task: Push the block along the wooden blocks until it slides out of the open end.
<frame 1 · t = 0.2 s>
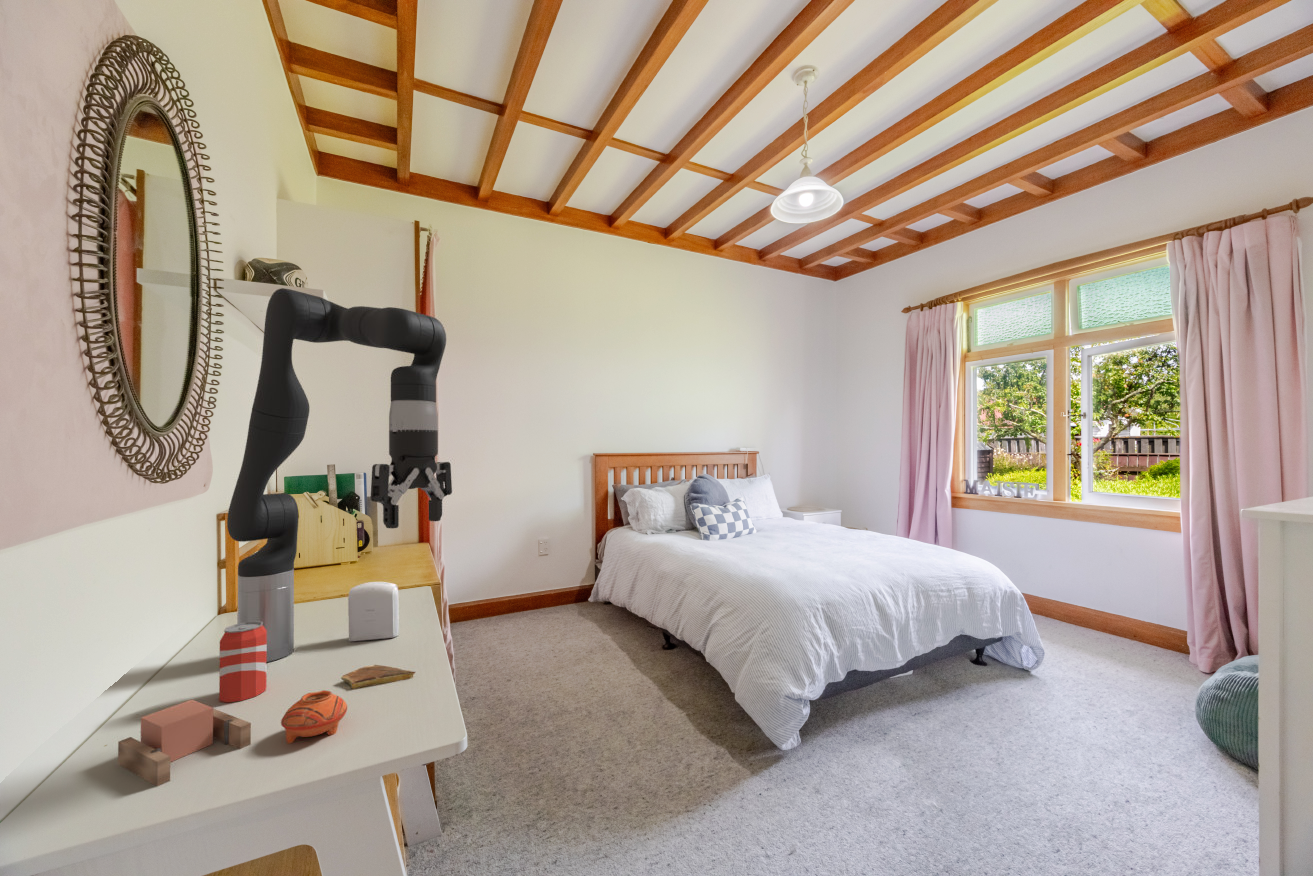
hand: (414, 524, 86), 29 cm above the table, fingers open, 8 cm apart
pot: (315, 738, 74), on the table
photo printer: (374, 638, 115), on the table
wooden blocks: (191, 760, 69), on the table
shard: (379, 679, 94), on the table
block: (177, 730, 70), point 3 cm above the table, slide at 0.0 cm
beverage can: (243, 698, 87), on the table
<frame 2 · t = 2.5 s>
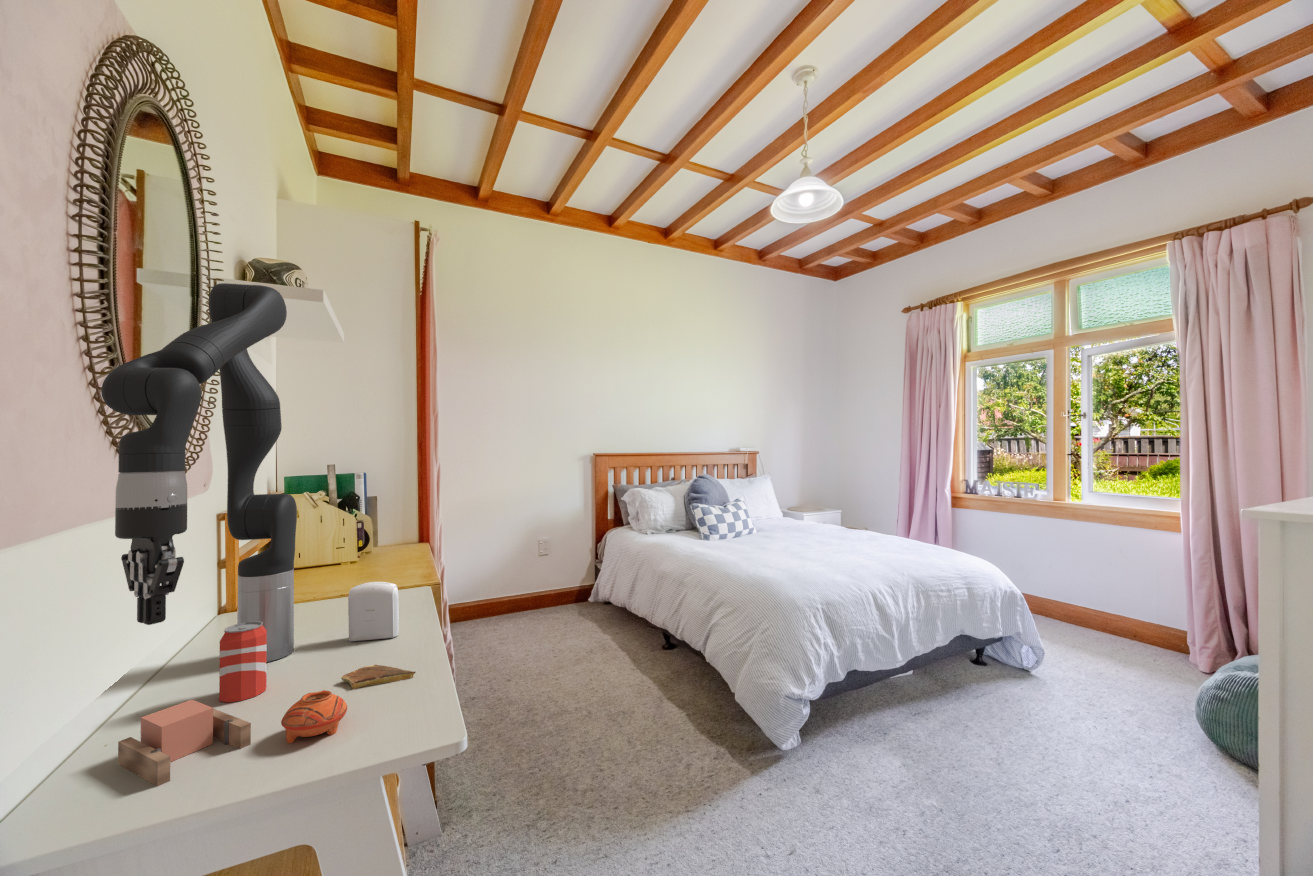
hand: (151, 621, 74), 17 cm above the table, fingers closed
nothing on the table moved.
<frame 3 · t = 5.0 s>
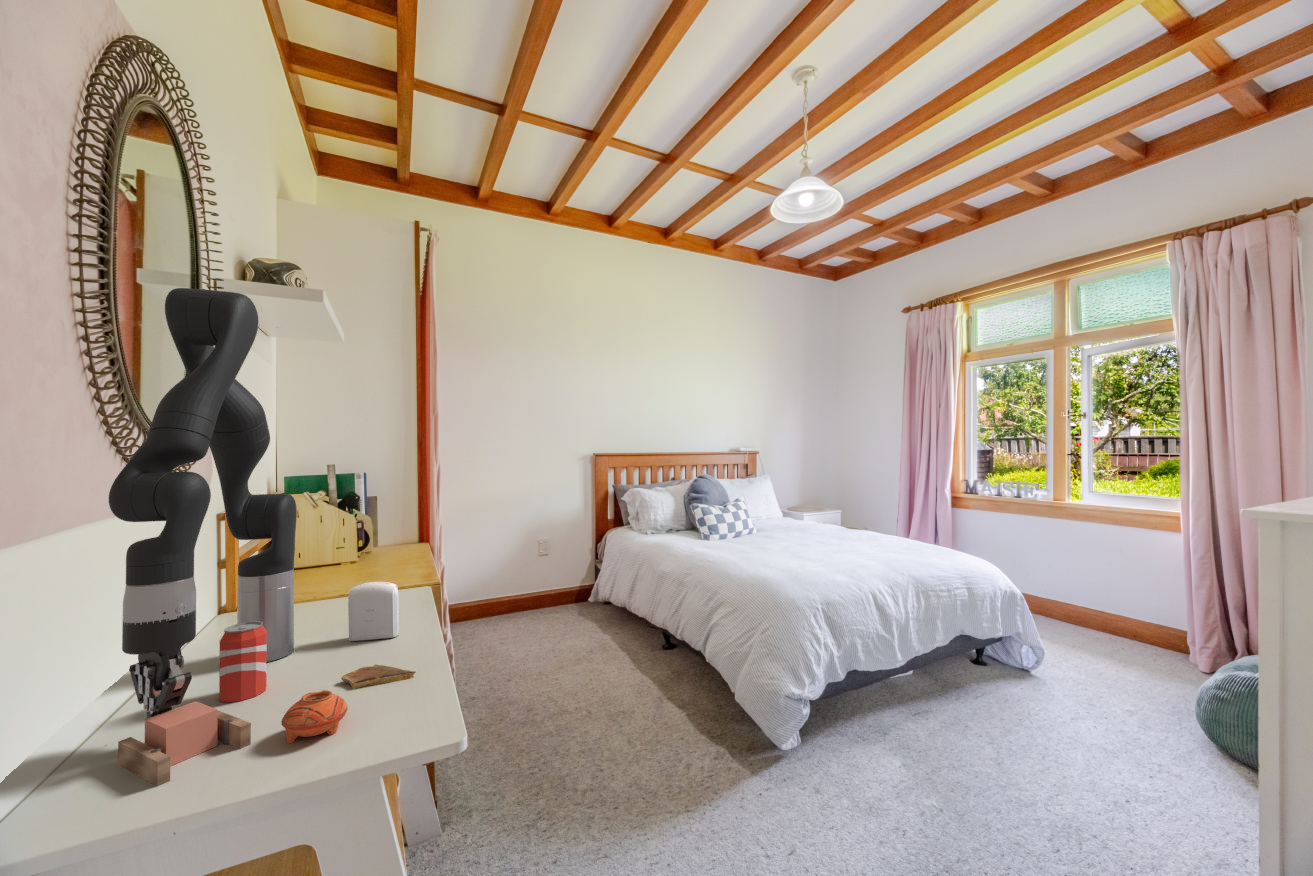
hand: (159, 735, 72), 2 cm above the table, fingers closed
block: (181, 732, 70), point 3 cm above the table, slide at 1.2 cm, touching gripper
everything else where it was.
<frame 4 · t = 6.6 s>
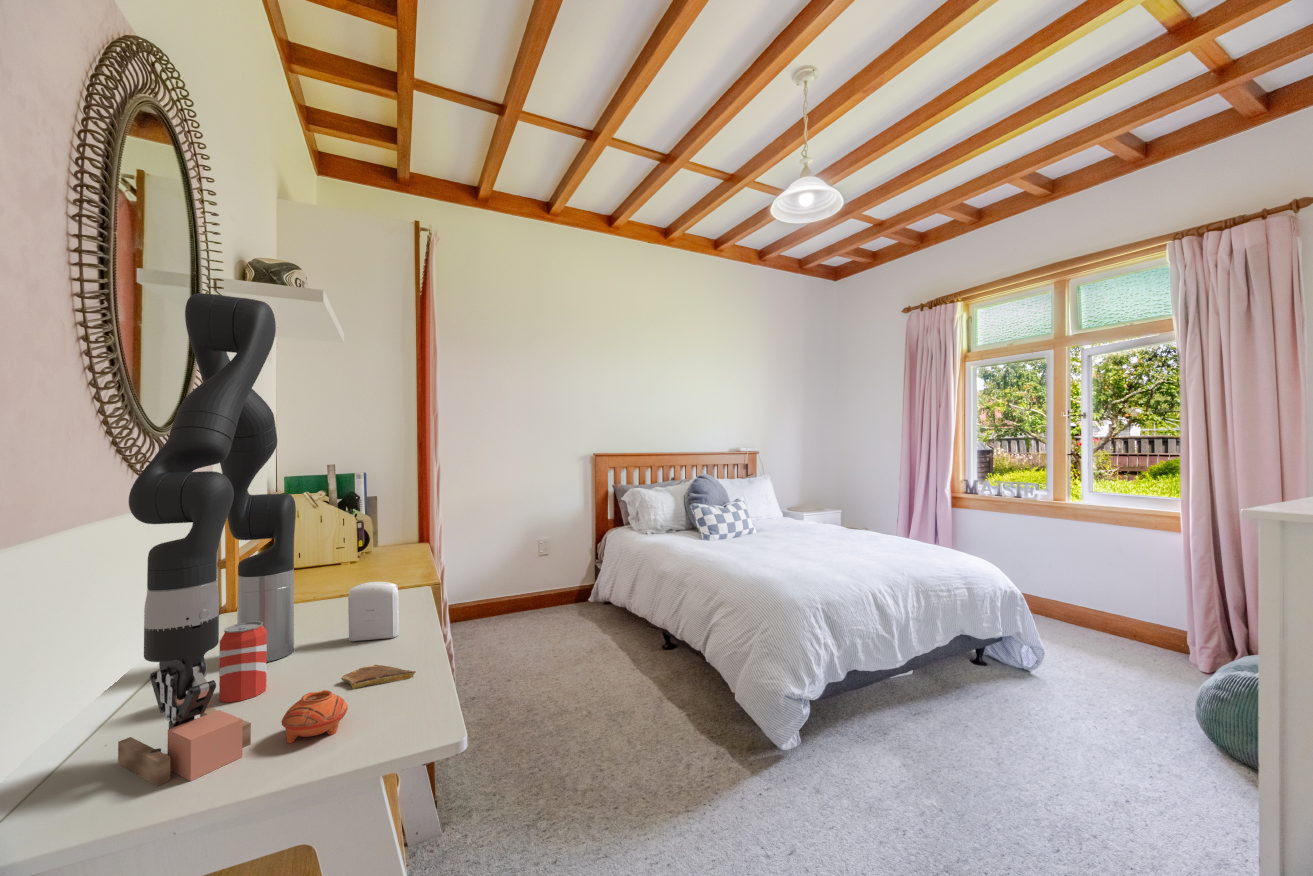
hand: (181, 746, 69), 2 cm above the table, fingers closed
block: (205, 743, 67), point 3 cm above the table, slide at 7.6 cm, touching gripper
everything else where it was.
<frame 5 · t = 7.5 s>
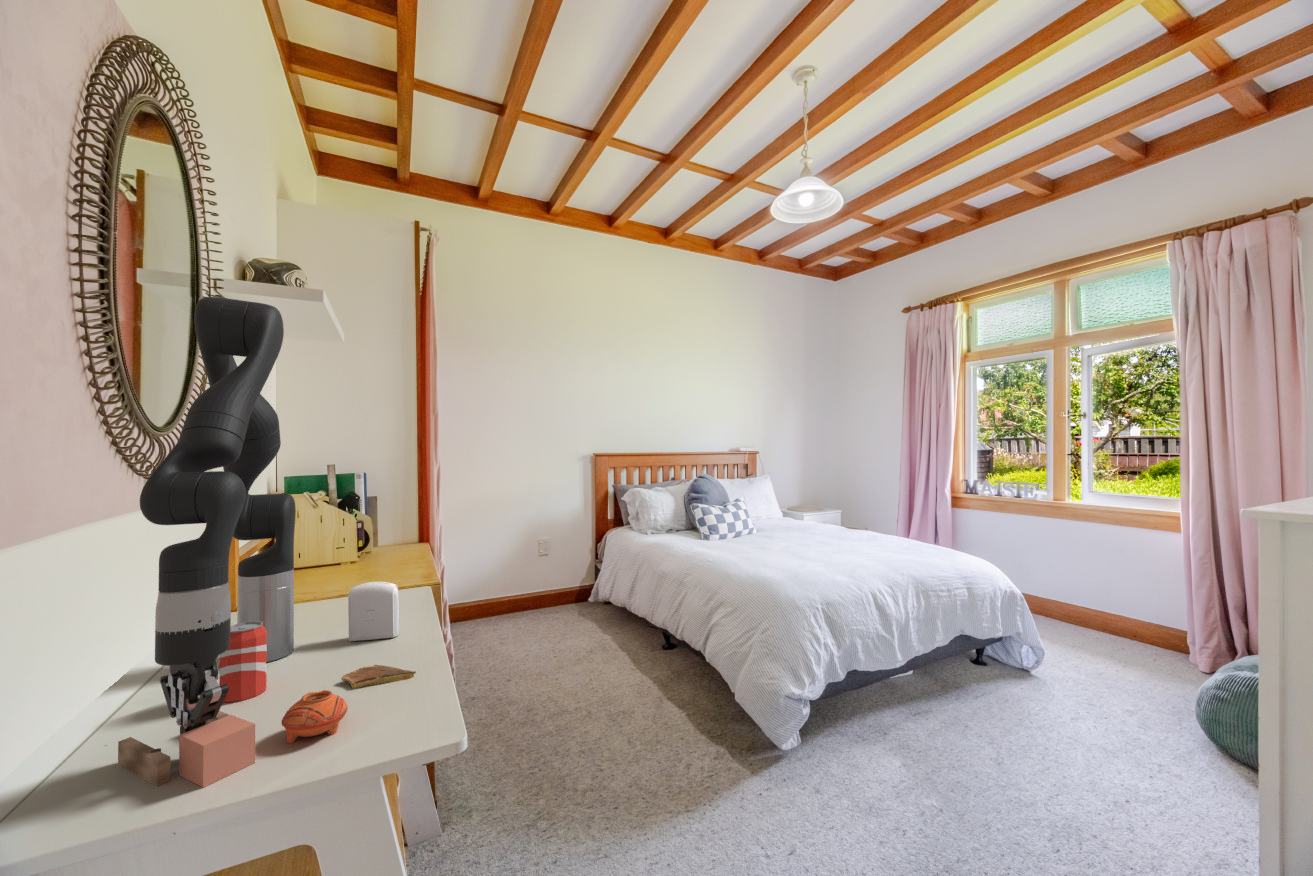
hand: (192, 751, 68), 2 cm above the table, fingers closed
block: (217, 748, 66), point 3 cm above the table, slide at 10.6 cm, touching gripper
everything else where it was.
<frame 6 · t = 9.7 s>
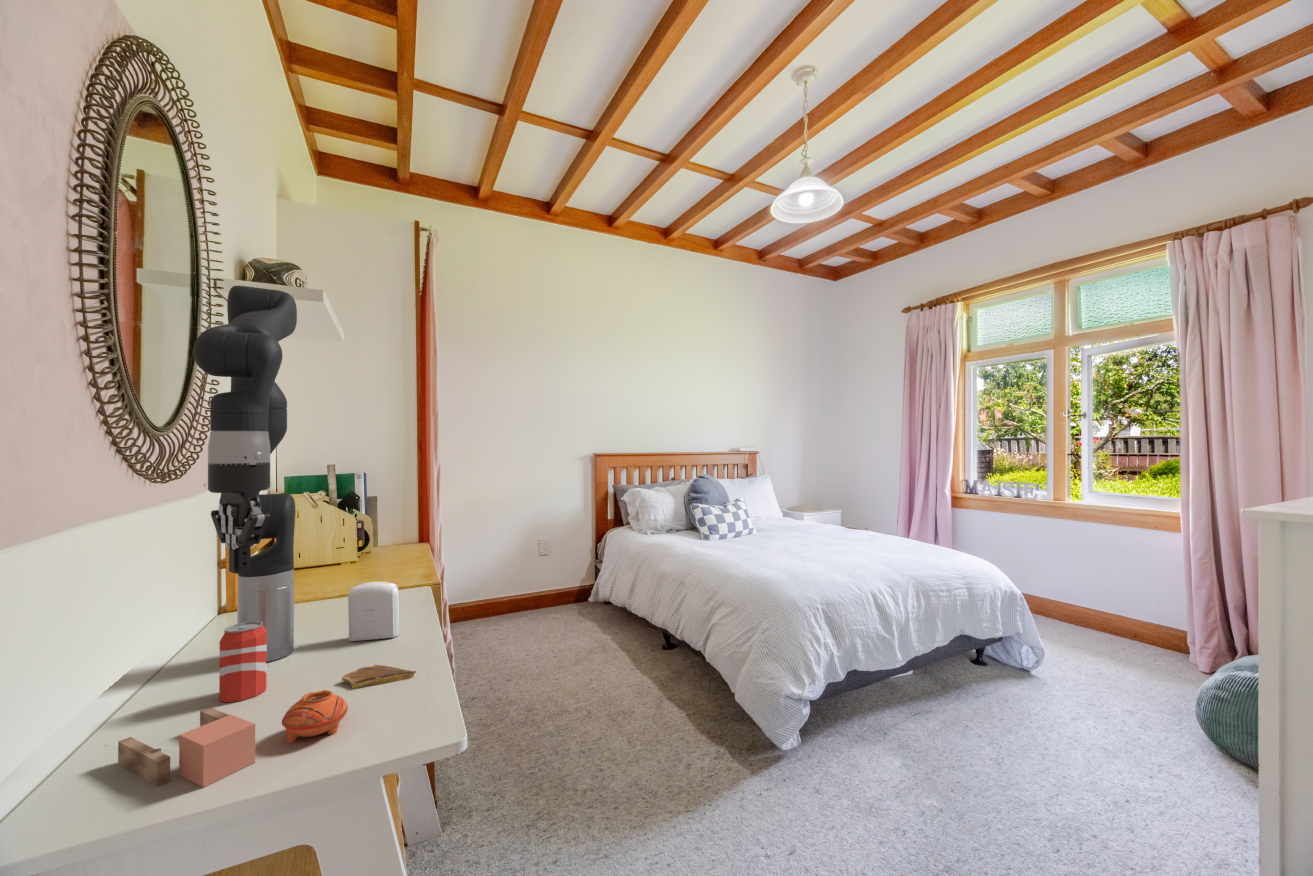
hand: (239, 571, 79), 23 cm above the table, fingers closed
block: (217, 748, 66), point 3 cm above the table, slide at 10.7 cm
everything else where it was.
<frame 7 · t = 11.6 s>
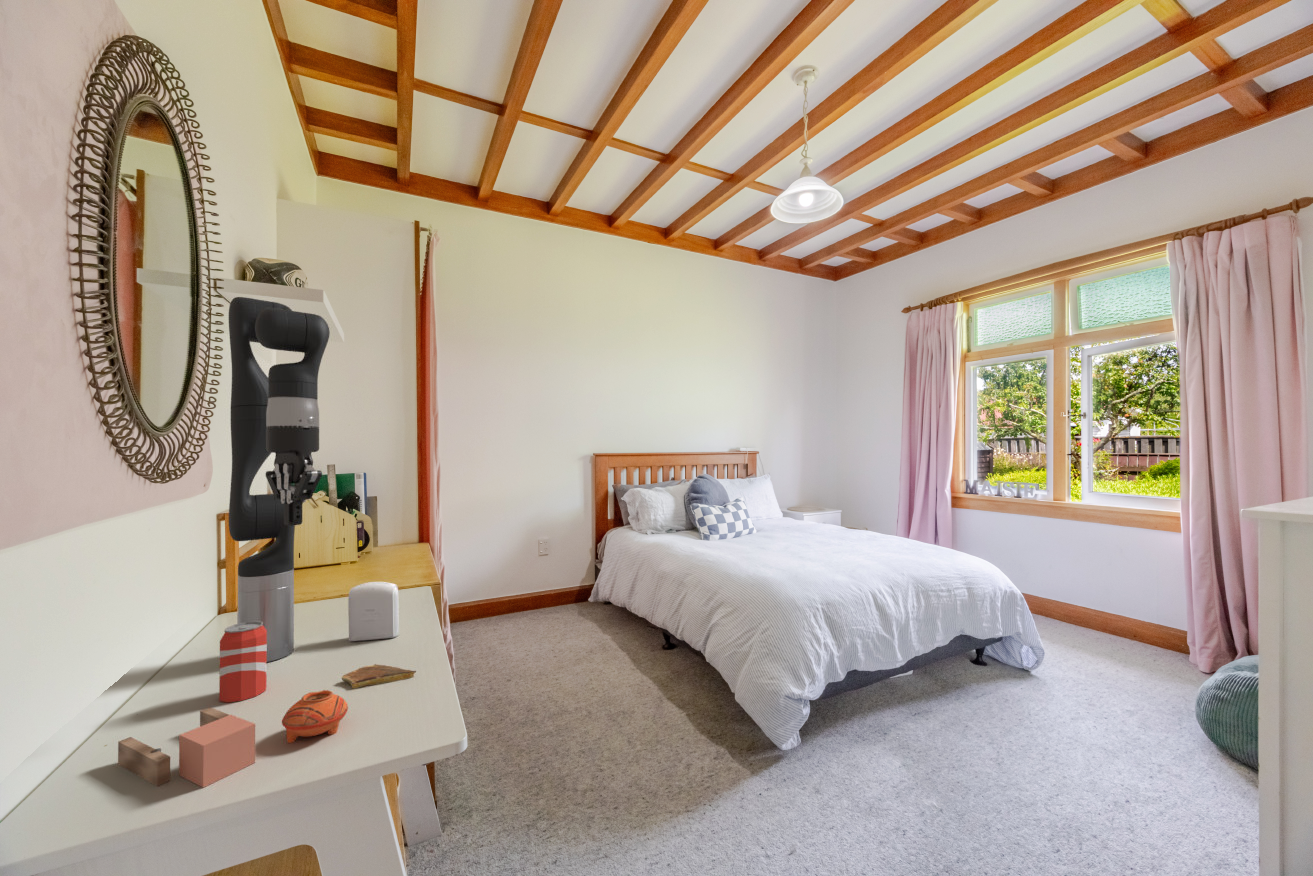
hand: (293, 524, 88), 29 cm above the table, fingers closed
nothing on the table moved.
at the end: block slide at 10.7 cm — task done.
